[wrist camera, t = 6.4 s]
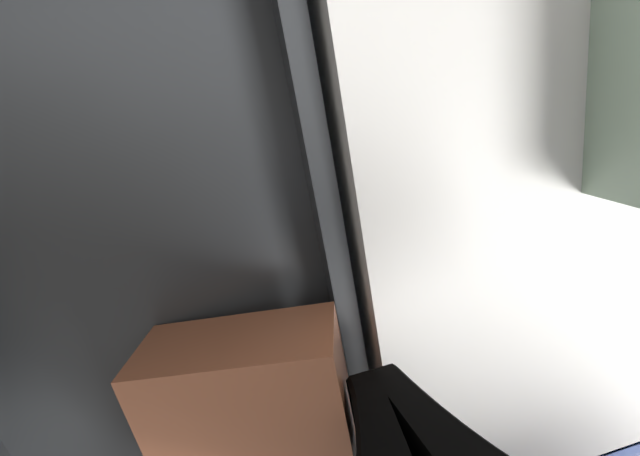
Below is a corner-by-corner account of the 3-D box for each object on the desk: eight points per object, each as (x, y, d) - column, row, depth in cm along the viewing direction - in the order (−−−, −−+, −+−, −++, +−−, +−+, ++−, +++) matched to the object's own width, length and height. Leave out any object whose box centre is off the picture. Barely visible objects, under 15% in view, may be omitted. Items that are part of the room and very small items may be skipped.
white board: (737, 354, 17) (800, 386, 15) (385, 468, 15) (406, 521, 13) (857, -182, 11) (988, -242, 9) (287, -111, 9) (300, -169, 7)
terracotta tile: (361, 442, 12) (365, 518, 10) (204, 458, 12) (177, 532, 10) (333, 301, 10) (333, 356, 8) (154, 325, 11) (110, 383, 9)
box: (377, 470, 15) (416, 576, 11) (73, 569, 13) (19, 720, 10) (274, -109, 9) (296, -237, 5) (-301, -37, 7) (-738, -148, 4)
